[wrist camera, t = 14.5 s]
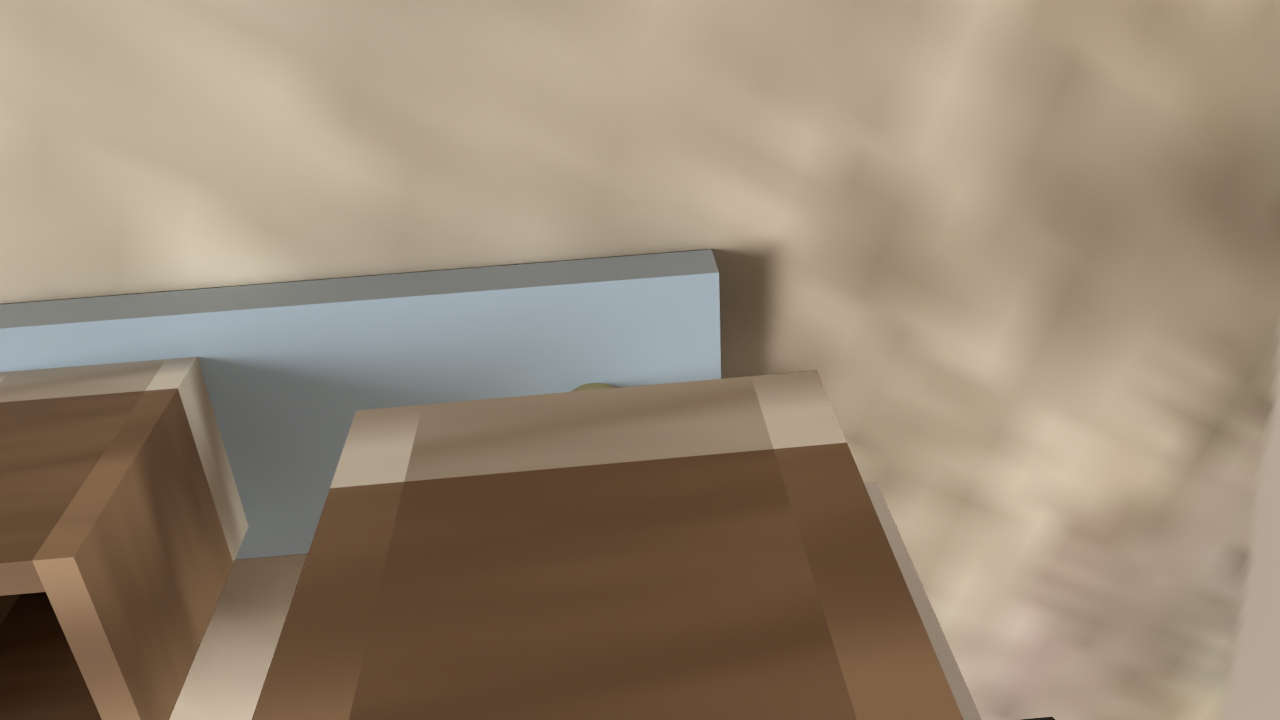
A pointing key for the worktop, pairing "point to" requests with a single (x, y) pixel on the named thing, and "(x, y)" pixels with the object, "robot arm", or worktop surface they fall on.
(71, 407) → the sleeve
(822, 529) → the sleeve
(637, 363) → the pin board
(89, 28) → the worktop surface
